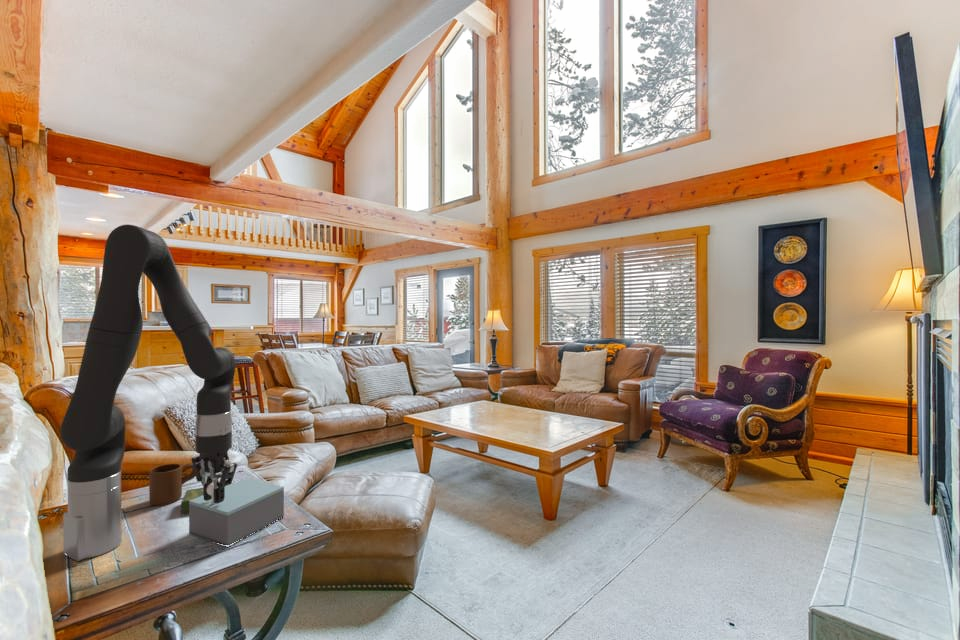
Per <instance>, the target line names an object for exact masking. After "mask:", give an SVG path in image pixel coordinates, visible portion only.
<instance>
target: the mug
mask: <svg viewBox="0 0 960 640" xmlns="http://www.w3.org/2000/svg"><path fill="white" fill-rule="evenodd" d="M191 469H192V470H191ZM189 470H191V472H190V473H189V474H186V475H185V476H183V473H185V472H187V471H189ZM148 476H149V479H148V480H149V484H148V486H149V488H148V491H149V496H148V497H149V503H150V504H151V505H152V506H165V505H164V504H166V505H170V504H173V503H175V502H177V501H178V500H180V499H181V498H182V494H183V489H182V488H183V485H184V484H185V483H187V482H189V481H191V480H193V479H194V478H196V475H195V472H194V468H193V464H192V462H191V463H186V464H185V465H183V466H182V465H181V463H180V464H179V463H167V464H162V465H158V466H155V467H153V468H151V469H150V470H149V475H148ZM172 502H173V503H172ZM169 503H170V504H169Z"/></svg>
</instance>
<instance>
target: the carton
mask: <svg viewBox="0 0 960 640" xmlns="http://www.w3.org/2000/svg"><path fill="white" fill-rule="evenodd" d="M233 483H234V482H232V483H231V484H233ZM227 486H228V485H227ZM202 495H203V487H199V488H191V489H186V491H185V493H184V496H183V498H182V500H181V501H180V502H181V503H180V515H182V516H183V515H189V501H190V500H192V499H195V498H197V497H200V496H202Z"/></svg>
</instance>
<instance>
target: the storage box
mask: <svg viewBox="0 0 960 640" xmlns="http://www.w3.org/2000/svg"><path fill="white" fill-rule="evenodd" d="M284 490H285V489H284ZM284 490H282V491H280V492H278V493H276V494H274V495H271V496H269V497H267V498H265V499H263V500H261V501H259V502H256V503H254V504H252V505H250V506H248V507H246V508H244V509H241V510H239V511H237V512H235V513H233V514H231V515H228V516H226V515H223V514H220V513H217V512H214V511H210V510H207V509H204V508H201V507H197V506H194V505H191V504H189V514H188V517H189V518H188V519H189V520H188V524H189V525H188V527H189V528H188V532H189V533H188V534H189V535H191V536H193V537H196V538H199V539H202V540H205V541H207V542H210V543H212V542H215V543H219V544H223V545H230V544H232V543H234V542H236V541H238V540H240V539H242V538H245V537H247V536H249V535H250V534H252V533H254V532H256V531H258V530H260V529H262V528H264V527H265V526H267V525H269V524H271V523H272V522H274V521H276V520H277V519H279V518H281V517H283V516H284V517H285V511H284V510H285V507H284V506H285V503H284V502H285V501H284V500H285V495H284V494H285V491H284ZM271 525H272V524H271ZM269 526H270V525H269ZM267 527H268V526H267ZM264 529H265V528H264ZM262 530H263V529H262ZM260 531H261V530H260ZM258 532H259V531H258ZM256 533H257V532H256ZM254 534H255V533H254ZM249 537H250V536H249ZM247 538H248V537H247ZM245 539H246V538H245ZM215 543H214V544H215Z"/></svg>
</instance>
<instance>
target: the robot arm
mask: <svg viewBox="0 0 960 640" xmlns="http://www.w3.org/2000/svg"><path fill="white" fill-rule="evenodd" d="M104 245H105V246H104V253H103V262H102V272H101V279H100V285H99V288H98V292H97V296H96V302H95V305H94V306H95V307H94V311H93V314H92V317H91V321H90V324H89V328H88V331H87V335H86V339H85V340H86V341H85V345H84V349H83V354H82V358H81V363H80V367H79V370H78V371H79V372H78V377H77V380H76V385H75V388H74V392H73V393H72V396H71V399H70V402H69V404H68V406H67V409H66V412H65V414H64V417H63V419H62V422H61V424H60V430H59V435H60V438H61V441H62V443H63V444H64V445H65V447H67V448H68V449H69V450H72V451H75V452H74V456H73V459H72V461H71V463H70V464H69V466H68V468H67V511H66V512H64V513H63V516H62V517H63V520H62V525H63V532H62V533H63V554H64V553H66V554H67V555H69V556H70V557H71V558H70V557H69V558H70V559H72V560H74V561H76V562H79V561H82V560H85V559H89V558H94V557H98V556H101V555H104V554H106V553H108V552H111V551H112V550H114V549H116V548H117V547H118V546H120V544H121V543H122V537H123V531H122V530H123V529H122V528H123V527H122V462H123V459H124V456H125V452H126V451H125V450H126V449H125V447H126V419H125V418H126V417H125V414H124V412H123V411H122V410H121V408H120V407H118V406H117V405H115V398H116V394H117V392H118V389H119V387H120V384H121V382H122V380H123V379H124V377H125V375H126V374H127V372H128V370H129V368H130V366H131V364H132V362H133V361H134V359H135V357H136V355H137V351H138V348H139V346H140V345H139V344H140V341H141V340H140V339H141V337H142V332H143V326H144V323H143V321H144V320H143V319H144V318H143V314H142V309H141V304H140V303H141V302H140V297H139V290H140V289H139V288H140V282H141V279H142V276H143V274H144V275H145V276H146V278H147V279H148V280H149V281H150V282H151V284H152V286H153V288H154V290H155V292H156V294H157V296H158V301H159V305H160V308H161V312H162V314H163V317H164V319H165V321H166V322H167V324H168V325H169V327H170V329H171V331H172V332H173V334H174V336H176V338H177V340H178V341H179V342H180V345H181V350H182V353H183V355H184V358H185V360H186V364H187V366H188V367H189V369H190V370H191V371H192V373H193V374H194V376H196V377H198V378H200V379H203V385H202V387H201V389H199V390H198V392H197V394H196V417H195V425H194V427H195V428H194V429H195V431H194V432H195V434H194V435H195V437H194V438H195V442H194V443H195V449H194V450H195V452H196V453H197V454H198V455H197V456H194V457H191V463H192V464H193V468H194V472H195V475H196V476H195V478H196V481H197V482H201V485H202V488H203V496H204V500H206V501H208V500H210V499H212V495H209V494H208V493H207V487H208V485H210V484H211V483H213V484H214V503H215V504H218V503H220V502H222V501H224V498H225V494H224V493H225V486H227V485H230V484H231V483H233V480H234V476H235V473H236V472H237V471H236V470H237V467H238V464H237V462H231V461H230V457H229V454H228V453H229V452H228V451H229V450H230V449H231V448H232V447H233V446H232V445H233V441H232V440H233V435H232V434H233V427H232V426H233V420H232V419H233V417H232V411H231V404H232V401H231V397H232V396H231V391H232V387H233V384H234V378H235V373H236V359H235V356H234V354H233V352H232V351H231V350H230V349H228V348H226V347H222V346H221V347H220V346H219V347H217V346H216V347H215V345H214V344H213V341H212V340H211V336H212V333H213V330H212V328H211V326H210V324H209V322H208V321H207V320H206V318H205V317H204V314H203V312H201V310H200V309H199V307H198V305H197V304H196V302H195V300H194V299H193V297H192V296H191V294H190V292H189V290H188V289H187V286H186V285H185V283H184V281H183V279H182V277H181V275H180V272H179V270H178V267H177V265H176V263H175V261H174V258H173V256H172V254H171V251H170V249H169V246H168V244H167V242H166V241H165V240H164V238H163V237H162V236H161V235H159V234H158V233H156V232H153V231H151V230H149V229H145V228H143V227H141V226H137V225H134V224H121V225H119V226H117V227H116V228H114V229H113V230H112V231H111V232H110V233H109V235H108V237H107V239H106V241H105V244H104ZM193 468H192V469H193Z"/></svg>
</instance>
